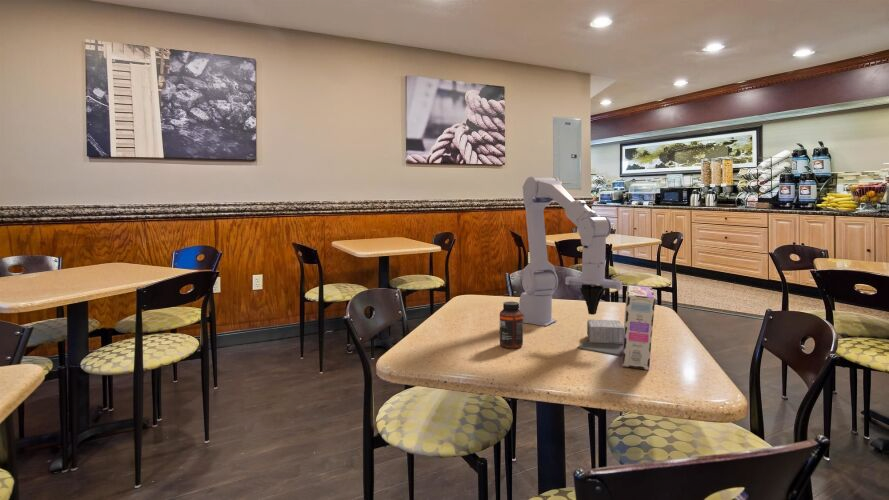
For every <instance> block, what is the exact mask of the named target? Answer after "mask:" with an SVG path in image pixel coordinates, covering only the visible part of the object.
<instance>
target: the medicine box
mask: <svg viewBox="0 0 889 500" xmlns="http://www.w3.org/2000/svg"><path fill="white" fill-rule="evenodd" d="M586 323H587V325H586V327H587V328H586V335H587V337H588V339H587V340H589V342H590V343H613V344H623V337H624V326H623V324H622V323H621V321H620V320H612V319H587V322H586Z"/></svg>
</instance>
